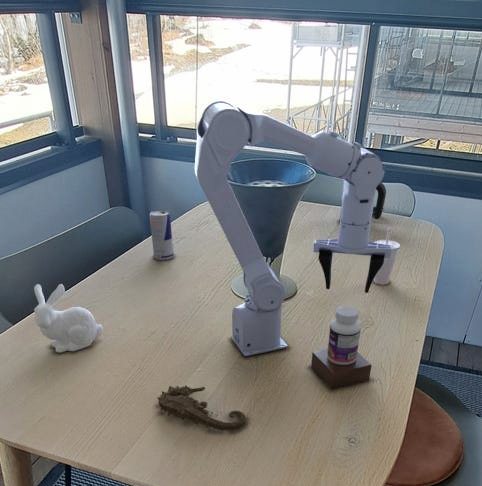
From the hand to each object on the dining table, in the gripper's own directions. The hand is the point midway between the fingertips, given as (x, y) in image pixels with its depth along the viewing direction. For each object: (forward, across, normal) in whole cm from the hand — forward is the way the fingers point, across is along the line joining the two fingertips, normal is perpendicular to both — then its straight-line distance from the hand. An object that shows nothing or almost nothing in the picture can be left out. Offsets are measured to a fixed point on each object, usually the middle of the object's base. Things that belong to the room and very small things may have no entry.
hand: (347, 288), depth 105 cm
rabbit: (+11, +54, +16) cm, 58 cm away
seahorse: (+11, +22, +32) cm, 40 cm away
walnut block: (+10, -1, +15) cm, 19 cm away
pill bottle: (+7, -1, +15) cm, 17 cm away
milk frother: (+11, -1, -78) cm, 78 cm away
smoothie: (+11, -8, -29) cm, 32 cm away
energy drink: (+11, +51, -33) cm, 62 cm away
